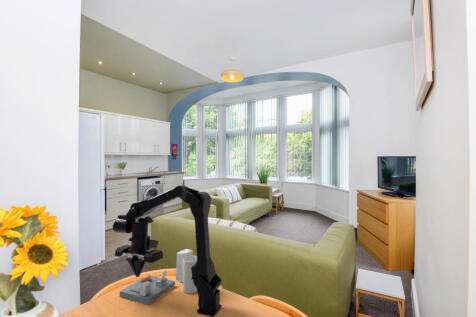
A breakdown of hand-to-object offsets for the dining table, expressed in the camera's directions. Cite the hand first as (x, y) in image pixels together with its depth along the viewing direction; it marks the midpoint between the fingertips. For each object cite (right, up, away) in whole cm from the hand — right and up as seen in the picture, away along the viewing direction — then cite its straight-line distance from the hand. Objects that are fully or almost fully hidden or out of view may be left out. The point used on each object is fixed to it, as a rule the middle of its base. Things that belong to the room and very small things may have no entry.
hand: (137, 276), depth 83 cm
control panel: (+3, -8, +3) cm, 9 cm away
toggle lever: (+7, -4, +5) cm, 10 cm away
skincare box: (+14, -9, +13) cm, 21 cm away
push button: (0, -6, +7) cm, 9 cm away
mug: (+19, -8, +7) cm, 22 cm away
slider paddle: (+4, -5, -3) cm, 7 cm away
